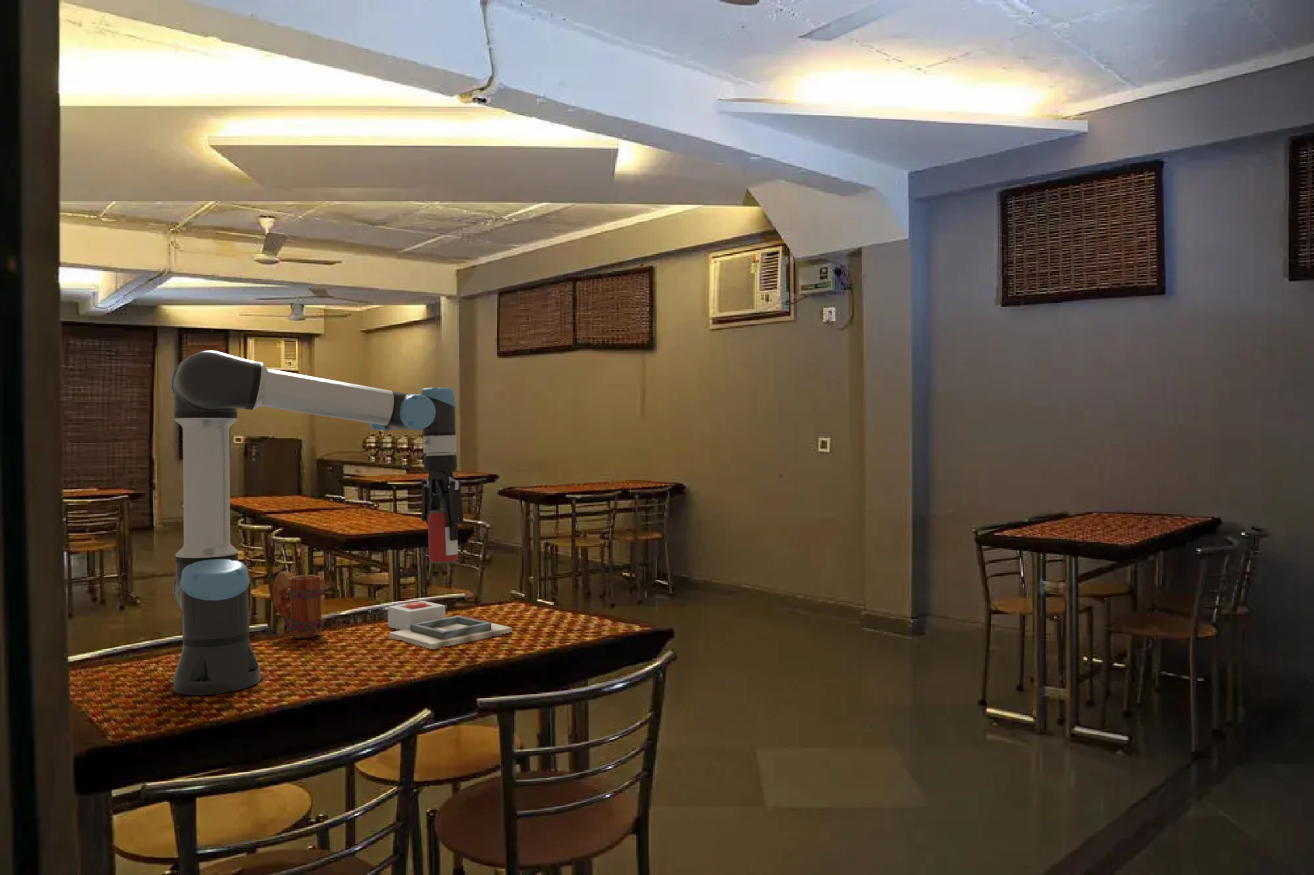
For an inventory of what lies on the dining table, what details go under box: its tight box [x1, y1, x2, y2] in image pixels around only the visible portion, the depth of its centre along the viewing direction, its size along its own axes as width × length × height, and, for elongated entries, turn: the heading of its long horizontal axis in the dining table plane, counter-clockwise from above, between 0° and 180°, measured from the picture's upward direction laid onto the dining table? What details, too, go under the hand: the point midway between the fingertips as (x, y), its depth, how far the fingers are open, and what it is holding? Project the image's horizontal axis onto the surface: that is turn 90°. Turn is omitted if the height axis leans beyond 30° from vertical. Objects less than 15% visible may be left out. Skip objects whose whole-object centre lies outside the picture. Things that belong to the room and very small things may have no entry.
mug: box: [272, 570, 327, 640], centre depth 222 cm, size 15×8×15 cm, turn 62°
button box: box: [387, 600, 446, 631], centre depth 231 cm, size 10×10×5 cm
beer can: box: [427, 508, 459, 564], centre depth 217 cm, size 7×7×12 cm
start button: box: [405, 601, 426, 609], centre depth 230 cm, size 5×5×4 cm
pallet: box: [388, 615, 513, 650], centre depth 220 cm, size 22×18×3 cm
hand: (443, 553), depth 217 cm, fingers closed on beer can, 6 cm apart
